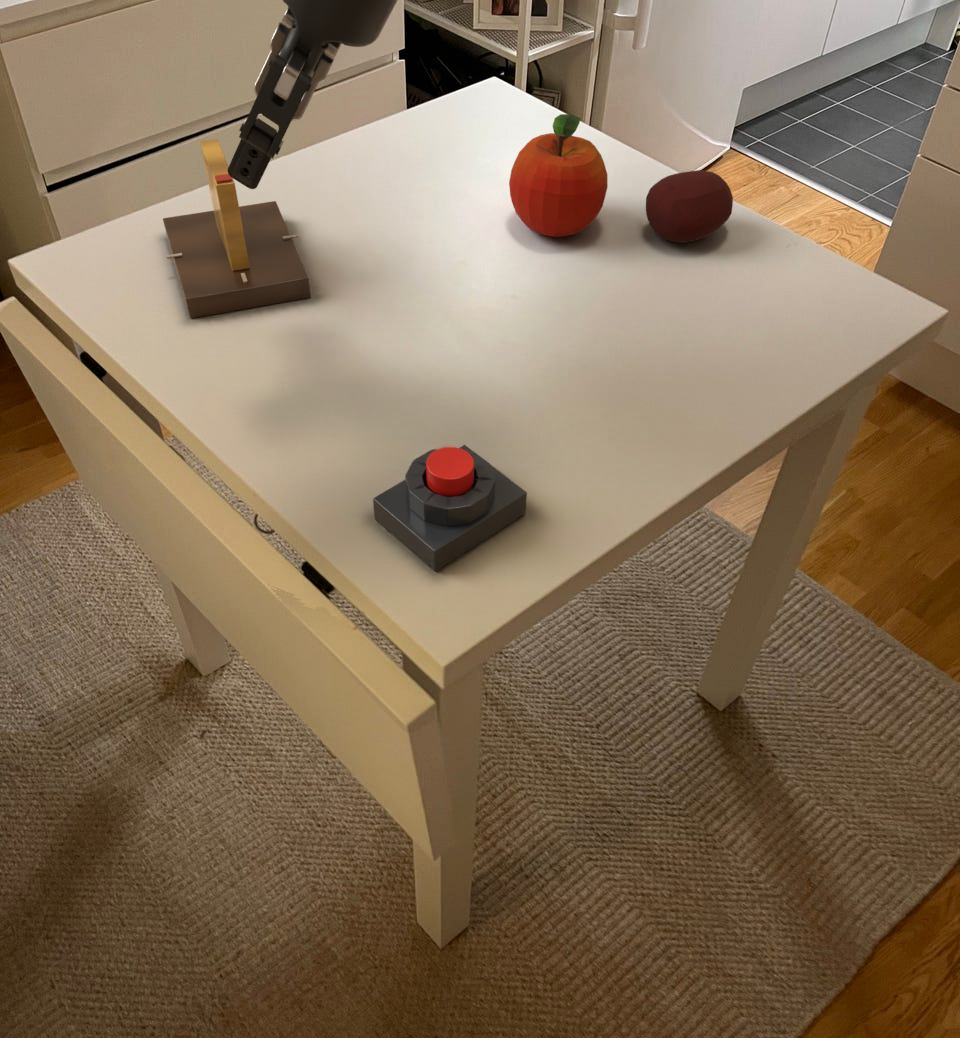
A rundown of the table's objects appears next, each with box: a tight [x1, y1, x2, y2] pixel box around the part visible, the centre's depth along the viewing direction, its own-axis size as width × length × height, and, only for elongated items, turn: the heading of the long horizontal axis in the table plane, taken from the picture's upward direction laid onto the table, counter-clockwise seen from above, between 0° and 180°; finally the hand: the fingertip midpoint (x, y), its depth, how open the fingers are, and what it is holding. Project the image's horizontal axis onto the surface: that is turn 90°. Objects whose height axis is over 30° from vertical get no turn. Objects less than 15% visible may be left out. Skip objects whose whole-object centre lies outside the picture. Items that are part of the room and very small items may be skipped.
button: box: [426, 446, 474, 497], centre depth 71 cm, size 3×3×2 cm
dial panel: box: [162, 200, 311, 319], centre depth 93 cm, size 14×12×2 cm
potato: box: [645, 169, 734, 243], centre depth 97 cm, size 8×9×6 cm
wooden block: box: [200, 138, 250, 271], centre depth 89 cm, size 8×2×8 cm, turn 19°
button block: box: [372, 444, 528, 572], centre depth 73 cm, size 9×7×4 cm
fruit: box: [508, 113, 609, 238], centre depth 96 cm, size 10×10×10 cm
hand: (257, 148), depth 72 cm, fingers open, 8 cm apart
